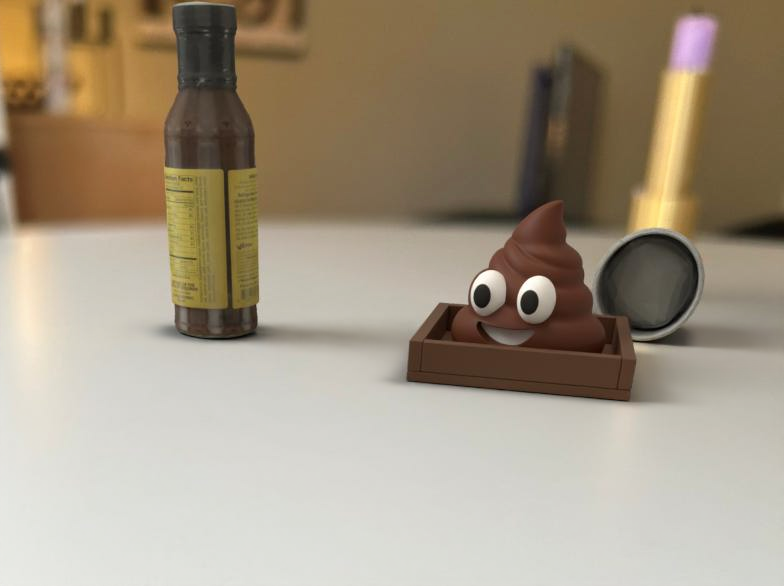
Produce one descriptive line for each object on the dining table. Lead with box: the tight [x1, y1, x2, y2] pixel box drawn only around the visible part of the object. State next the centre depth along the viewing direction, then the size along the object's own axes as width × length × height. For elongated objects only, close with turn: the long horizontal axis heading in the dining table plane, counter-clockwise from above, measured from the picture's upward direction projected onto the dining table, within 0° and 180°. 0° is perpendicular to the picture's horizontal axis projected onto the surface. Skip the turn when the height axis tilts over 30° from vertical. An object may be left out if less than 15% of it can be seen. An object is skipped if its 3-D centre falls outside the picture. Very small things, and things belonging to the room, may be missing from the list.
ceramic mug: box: [589, 227, 706, 342], centre depth 75 cm, size 11×8×8 cm
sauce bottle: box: [163, 1, 260, 339], centre depth 67 cm, size 6×6×20 cm
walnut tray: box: [405, 302, 638, 401], centre depth 65 cm, size 13×14×2 cm
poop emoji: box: [451, 199, 605, 354], centre depth 63 cm, size 10×8×9 cm
